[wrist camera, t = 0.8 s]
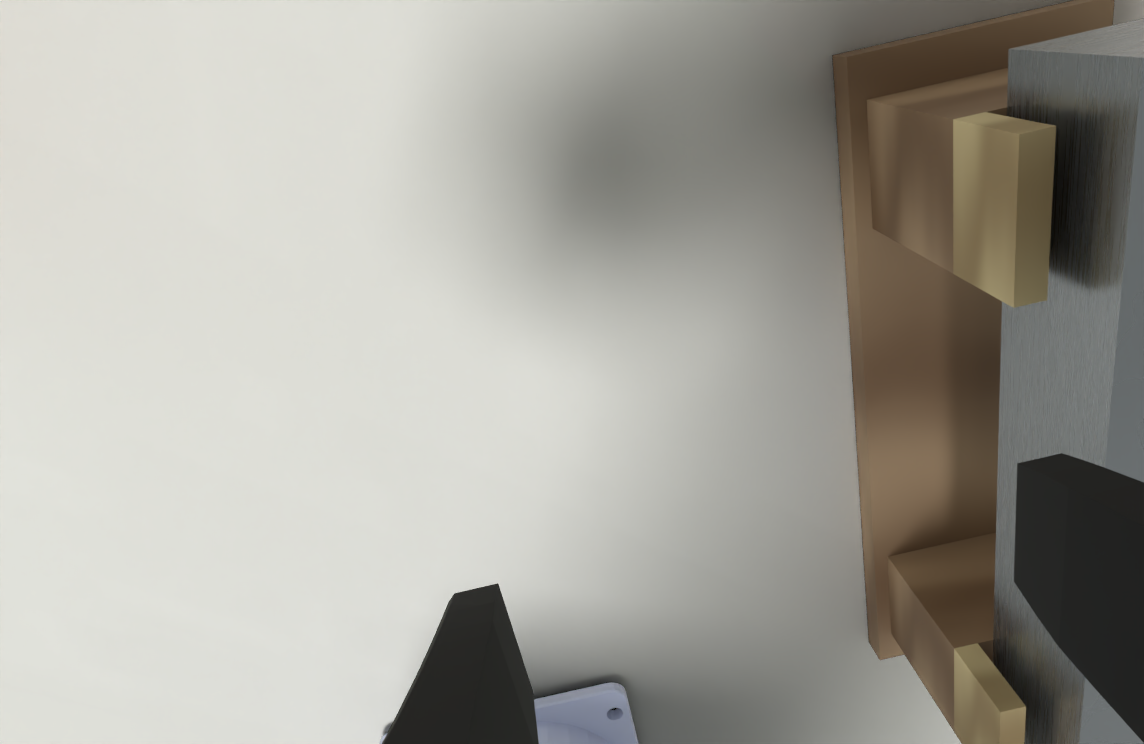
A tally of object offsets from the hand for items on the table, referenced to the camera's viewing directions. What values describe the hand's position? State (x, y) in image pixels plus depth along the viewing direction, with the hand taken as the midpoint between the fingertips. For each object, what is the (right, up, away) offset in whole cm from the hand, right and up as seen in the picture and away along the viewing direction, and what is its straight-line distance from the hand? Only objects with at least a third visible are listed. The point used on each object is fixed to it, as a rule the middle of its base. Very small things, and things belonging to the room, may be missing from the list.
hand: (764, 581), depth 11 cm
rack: (+8, +3, +11) cm, 14 cm away
